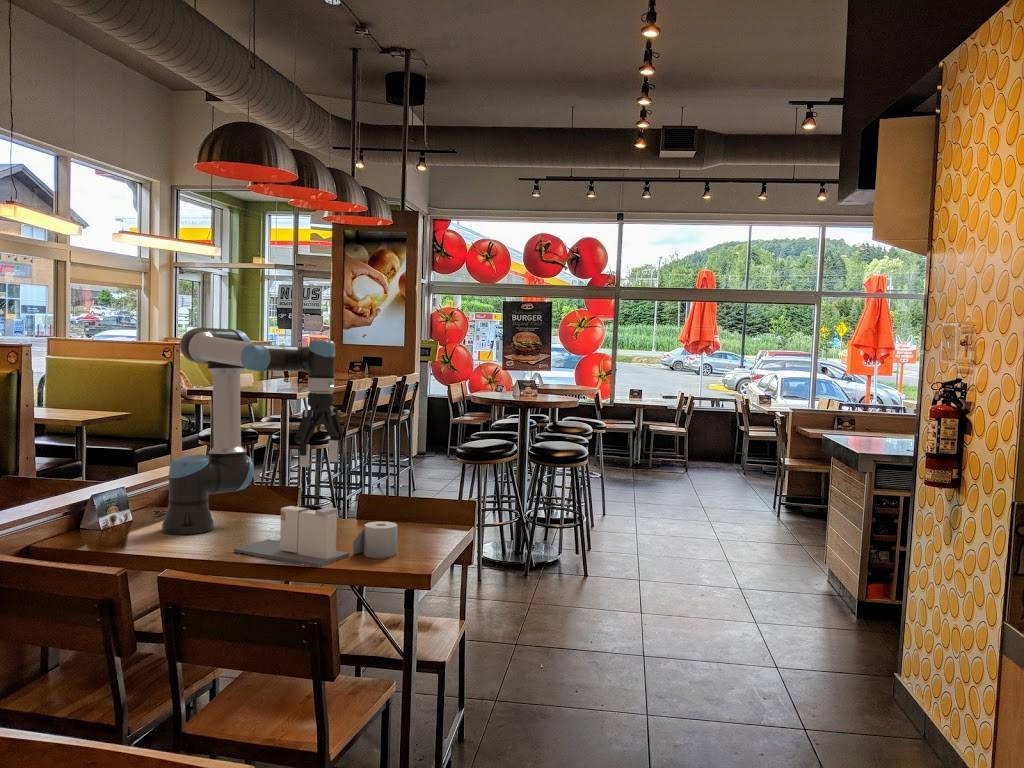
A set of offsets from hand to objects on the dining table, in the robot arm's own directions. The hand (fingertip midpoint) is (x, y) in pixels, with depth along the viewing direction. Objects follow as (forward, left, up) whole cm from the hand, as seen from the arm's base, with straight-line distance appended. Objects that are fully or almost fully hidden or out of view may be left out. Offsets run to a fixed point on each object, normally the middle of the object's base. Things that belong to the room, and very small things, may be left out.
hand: (319, 464), depth 227 cm
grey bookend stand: (-1, -10, -25) cm, 27 cm away
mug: (-10, +9, -25) cm, 29 cm away
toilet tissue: (+19, +3, -25) cm, 31 cm away
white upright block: (-1, -10, -24) cm, 26 cm away
